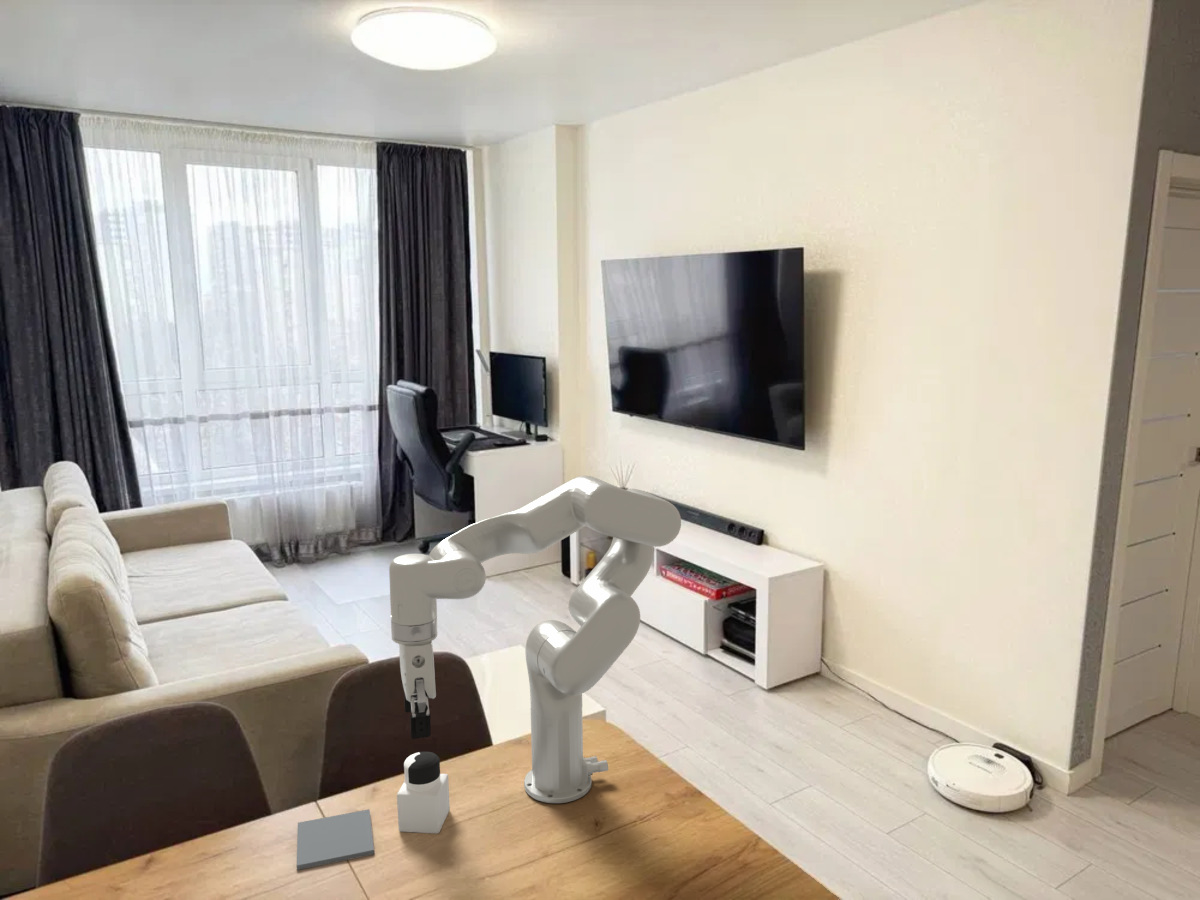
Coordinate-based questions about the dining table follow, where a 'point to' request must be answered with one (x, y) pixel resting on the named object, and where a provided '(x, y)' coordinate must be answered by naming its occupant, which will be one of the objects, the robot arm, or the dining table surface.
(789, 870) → the dining table surface
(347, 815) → the slate mat
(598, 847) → the dining table surface
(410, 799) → the medicine bottle
